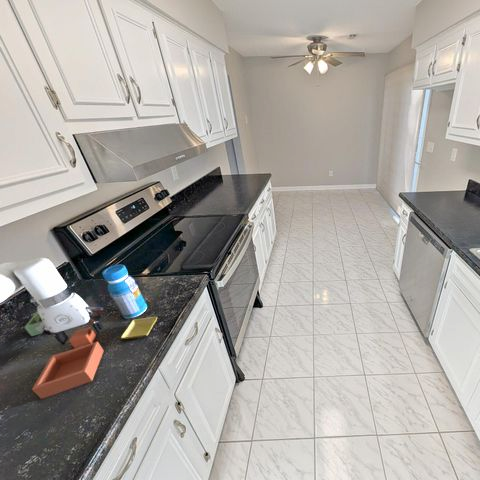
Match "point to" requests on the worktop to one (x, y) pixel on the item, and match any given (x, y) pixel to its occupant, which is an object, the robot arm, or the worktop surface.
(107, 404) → the worktop surface
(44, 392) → the terracotta bin
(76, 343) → the block
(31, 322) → the sage bin
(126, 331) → the yellow flat square tray
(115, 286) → the blue medicine bottle
